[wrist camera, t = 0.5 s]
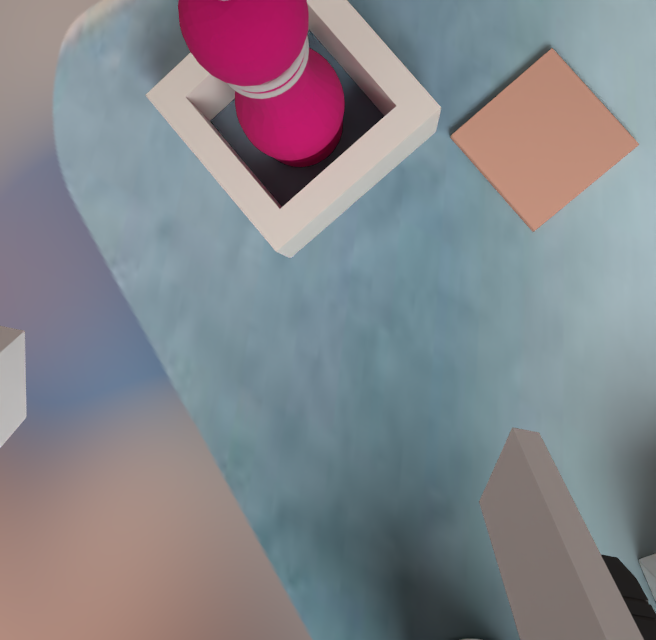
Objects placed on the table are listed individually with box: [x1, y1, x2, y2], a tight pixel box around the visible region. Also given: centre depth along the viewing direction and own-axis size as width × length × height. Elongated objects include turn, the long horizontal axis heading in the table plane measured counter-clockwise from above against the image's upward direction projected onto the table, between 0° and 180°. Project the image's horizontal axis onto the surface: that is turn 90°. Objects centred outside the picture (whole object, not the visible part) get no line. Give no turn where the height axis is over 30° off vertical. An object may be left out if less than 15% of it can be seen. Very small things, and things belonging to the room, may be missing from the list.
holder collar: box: [146, 0, 441, 258], centre depth 40 cm, size 14×14×5 cm
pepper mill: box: [178, 0, 345, 167], centre depth 32 cm, size 7×7×20 cm
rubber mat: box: [450, 48, 639, 232], centre depth 40 cm, size 9×9×1 cm
